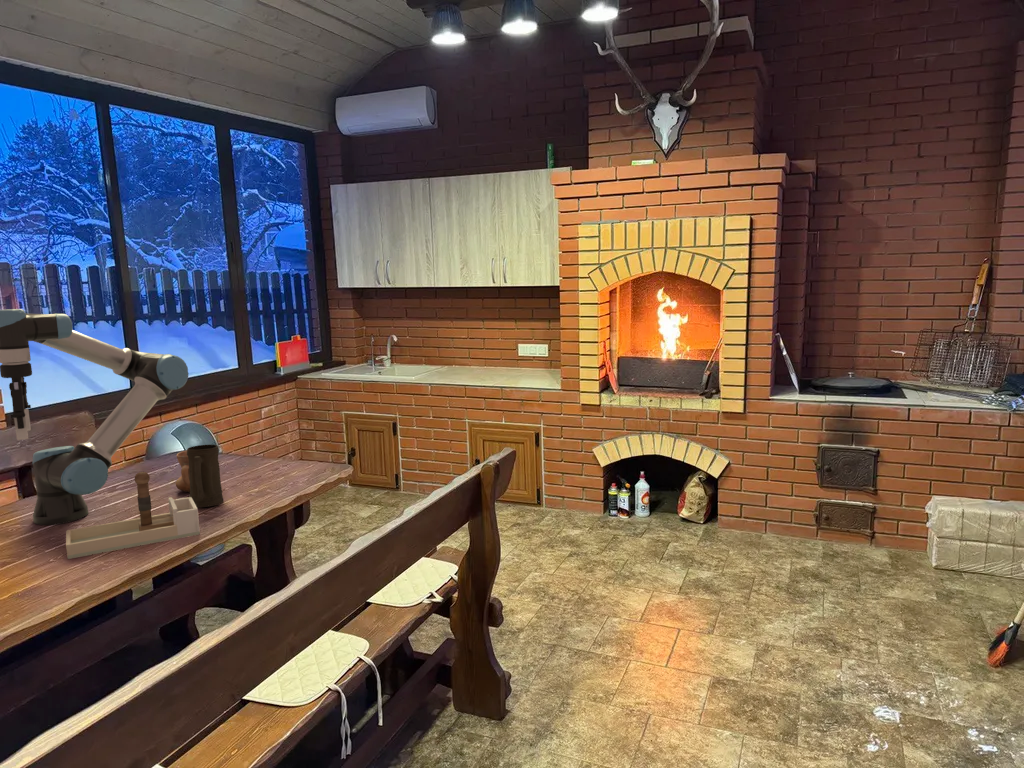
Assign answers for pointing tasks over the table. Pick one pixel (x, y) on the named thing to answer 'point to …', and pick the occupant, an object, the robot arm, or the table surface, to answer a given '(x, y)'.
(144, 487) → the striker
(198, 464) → the beer stein
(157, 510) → the table surface
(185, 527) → the cream long tray
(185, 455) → the ceramic jug
